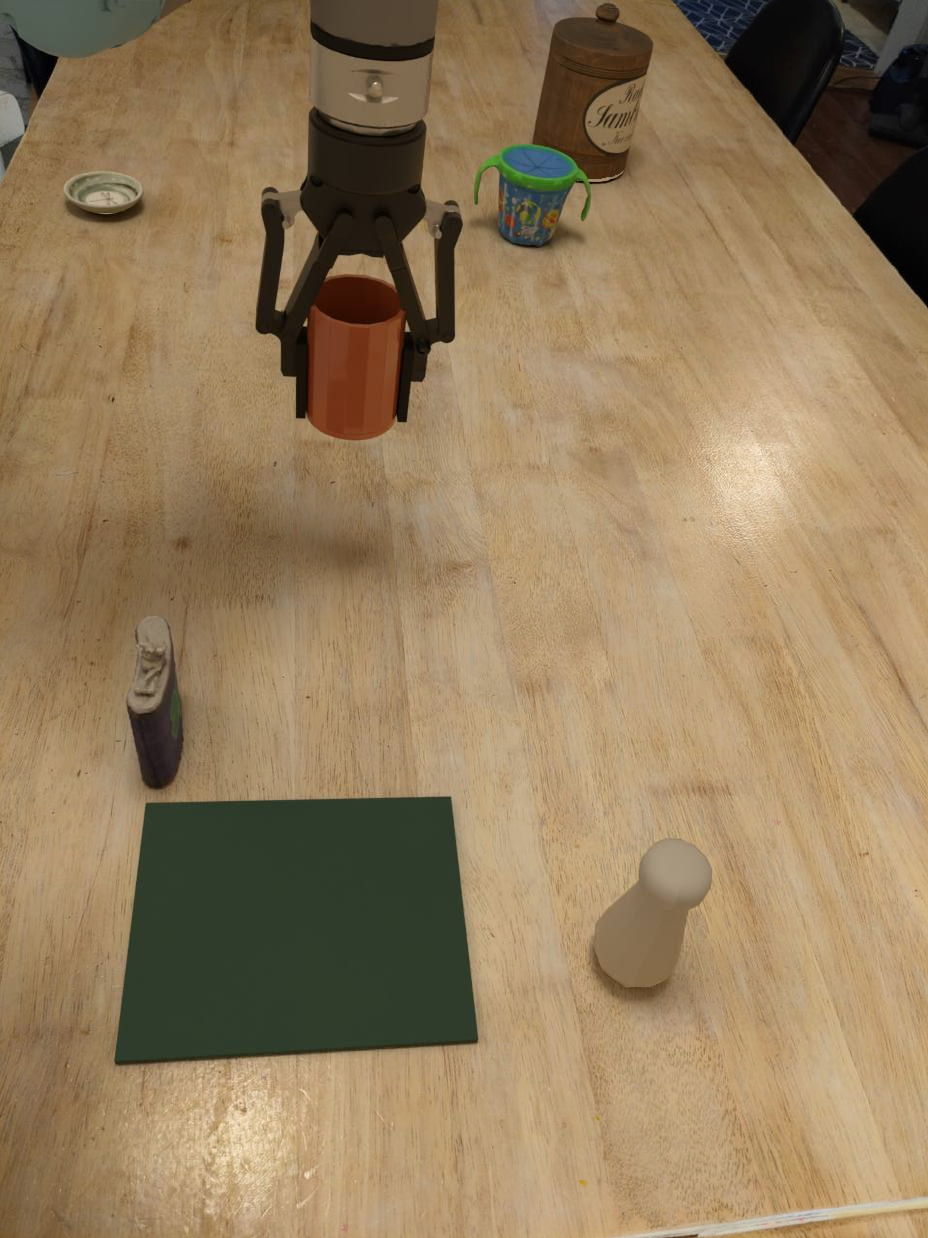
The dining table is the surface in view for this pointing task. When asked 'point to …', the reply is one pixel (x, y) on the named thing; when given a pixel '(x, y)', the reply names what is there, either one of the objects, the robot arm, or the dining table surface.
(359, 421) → the cup
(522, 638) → the dining table surface
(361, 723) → the dining table surface
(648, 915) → the salt shaker
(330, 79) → the robot arm
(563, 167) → the snack cup
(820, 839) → the dining table surface
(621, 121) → the wooden container
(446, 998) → the mat
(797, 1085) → the dining table surface
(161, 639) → the flask
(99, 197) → the saucer
